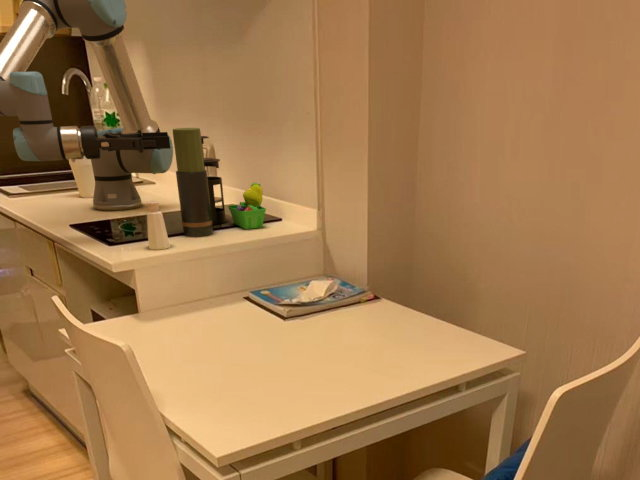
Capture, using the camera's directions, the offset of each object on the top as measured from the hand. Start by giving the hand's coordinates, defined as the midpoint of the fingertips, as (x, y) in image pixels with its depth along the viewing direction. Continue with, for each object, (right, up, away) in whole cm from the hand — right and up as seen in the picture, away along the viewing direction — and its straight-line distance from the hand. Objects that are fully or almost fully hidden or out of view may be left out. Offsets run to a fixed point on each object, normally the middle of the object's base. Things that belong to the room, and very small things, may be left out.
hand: (169, 139), depth 177 cm
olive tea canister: (+5, -6, +5) cm, 9 cm away
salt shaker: (-2, -28, -1) cm, 28 cm away
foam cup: (-47, +13, +71) cm, 86 cm away
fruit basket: (+18, -15, +21) cm, 32 cm away
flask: (+5, -20, +13) cm, 24 cm away
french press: (+5, -12, +27) cm, 30 cm away
